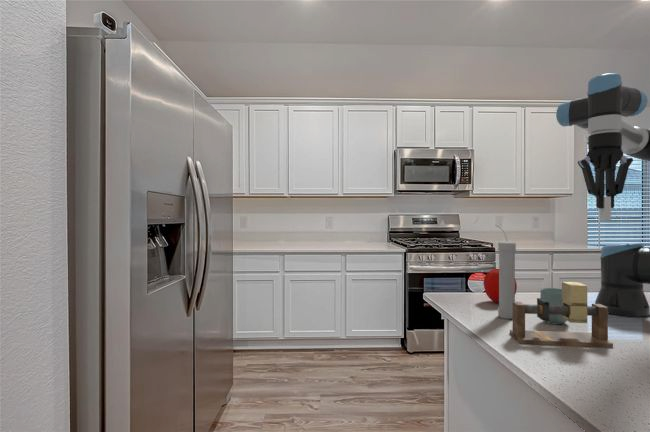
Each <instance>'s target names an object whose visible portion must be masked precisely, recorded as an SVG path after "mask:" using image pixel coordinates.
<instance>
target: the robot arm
mask: <svg viewBox="0 0 650 432" xmlns="http://www.w3.org/2000/svg"><path fill="white" fill-rule="evenodd" d="M587 83H588V84H587V93H586V95H587V96H585V97H582V98H581V97H580V98H577V99H571V100H570V101H566V102H563V103H561V104H559V105H558V107H557V109H556V112H555V113H556V114H555V116H556V121H557V123H558V124H559V125H560V126H561V127H572V126H576V127H579V128H581V129H583V130H585V131H586V132H587V134H589V135H588V137H587V147H588V152H587V154H586V157H584V158H582V159H580V160H577V165H578V166H579V167H580V169H581V171H582V175H583V179H584V182H585V186H586V190H587V193H588V194H589V195H592V196H594V197H595V199H596V201H595V202H596V203H595V205H596V208H597V209H599V221H602V222H603V221H604V222H610V221H612V209H614V208H615V196H617V195H620V194H622V193H623V192H624V187H625V183H626V179H627V175H628V171H629V167H630V166H631V164H632V163H633V161H634V159H633V158H635V159H637V160H641V161H642V160H643V161H647V162H650V128H644V127H642V126H641V127H640V126H633V125H632V124H630V123H628V122H626V121H624V120H623V119H622V117H624V118H628V117H635V116H638V115H640V114H641V113H643V111H645V110H646V107H647V105H648V101H649V100H648V96H647V94H646V93H645V92H644V91H643V90H640V89H638V88H635V87H630V86H629V87H628V86H624V85H622V84H623V81H622V77H621V75H620V74H619V73H613V72H612V73H604V74H599V75H597V76H594V77H592V78H590V79H589V81H588V82H587ZM625 155H627V156H625ZM628 156H629V157H628ZM618 163H619V167H618V169H617V164H618ZM591 165H592V166H593V171H592V168H591ZM616 170H617V174H616ZM593 172H594V174H593ZM594 178H595V179H594ZM600 251H601V252H600V289H599V290H598V292H597V293H598V294H597V296H596V298H595V302H594V304H601V305H603V306H606V307H608V315H609V314H610V315H616V316H626V317H647V316H650V305H649V301H648V300H647V297H646V294H645V292H644V284H645V285H650V247H645V245H644V244H643V243H642V242H636V243H619V244H617V243H616V244H607V245H603V246H602V247H601V250H600Z"/></svg>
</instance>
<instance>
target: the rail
mask: <svg viewBox="0 0 650 432" xmlns="http://www.w3.org/2000/svg"><path fill="white" fill-rule="evenodd" d="M526 314H527V315H528V314H529V315H537V314H543V305H537V304H524V303H523V302H521V301H515V302H513V319H512V329H509V335H511V336H512V337H513V338H514V339H515V341H517V342H518V343H519V344H520V345H521V344H522V345H544V346H545V345H546V346H566V347H567V346H570V347H572V346H573V347H589V346H591V347H592V348H593V347H595V348H596V347H598V348H614V343H613V342H611V341H610V340H609V313H608V307H606V306H603V305H601V304H595V303H591V306H590V305H589V306H588V305H587V317H588V316H591V332H579V331H577V332H576V331H554V330H553V331H551V330H550V331H549V330H526ZM549 314H554V315H569V306H561V305H549Z"/></svg>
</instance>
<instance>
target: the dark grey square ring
mask: <svg viewBox="0 0 650 432" xmlns="http://www.w3.org/2000/svg"><path fill="white" fill-rule="evenodd" d="M536 305H543V314H536V317H537V318H538V319H540V320H541V321H543V322H546V321H549V302H548V301H546V300H544V299H542V298H540V297H539V298H536Z"/></svg>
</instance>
